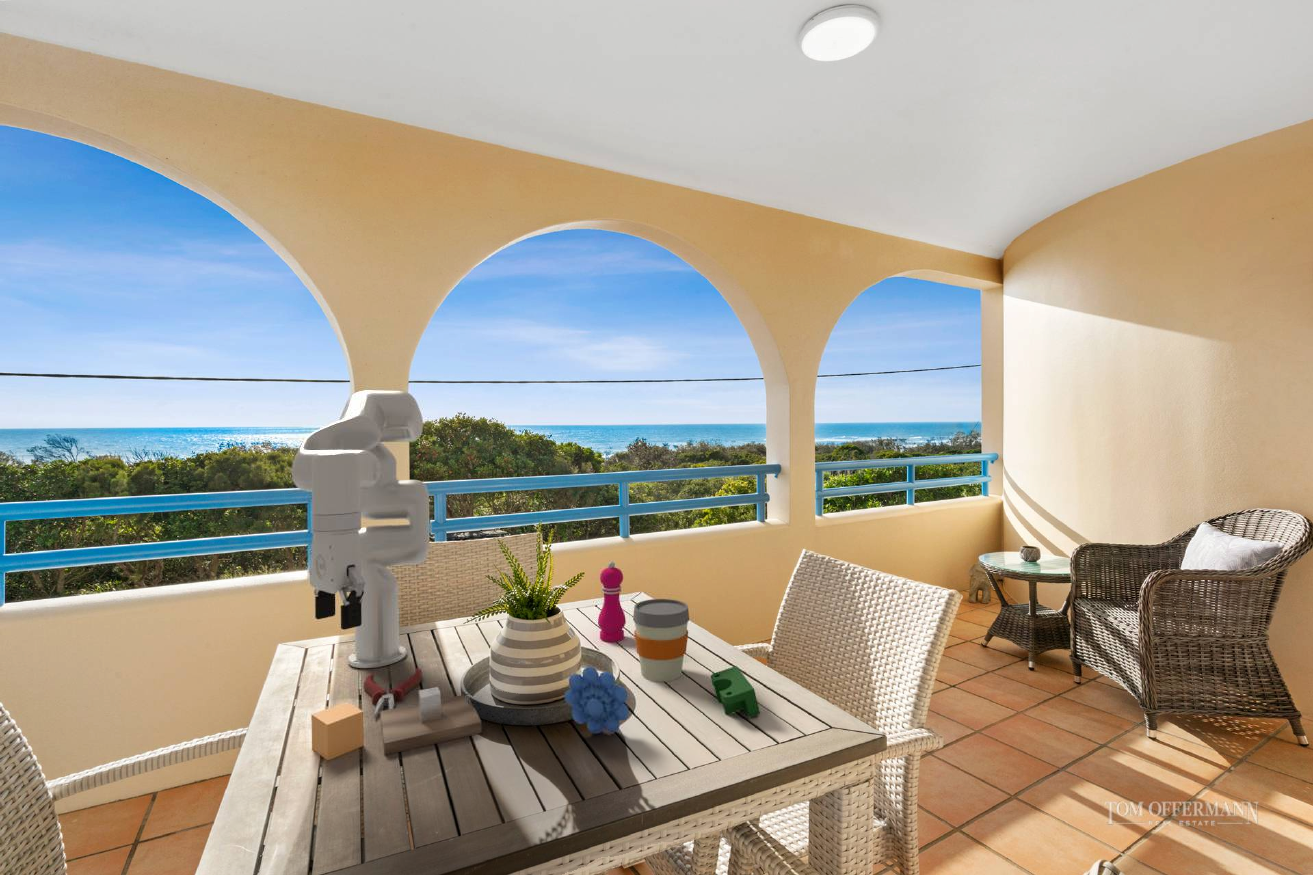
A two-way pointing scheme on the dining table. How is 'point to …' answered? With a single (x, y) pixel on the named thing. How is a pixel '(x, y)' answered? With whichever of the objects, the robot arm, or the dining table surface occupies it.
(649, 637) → the reusable coffee cup
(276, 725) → the dining table surface
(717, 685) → the clamp
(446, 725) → the board
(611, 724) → the blue knobbed flower
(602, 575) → the pepper mill
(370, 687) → the pliers
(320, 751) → the matte orange cube
